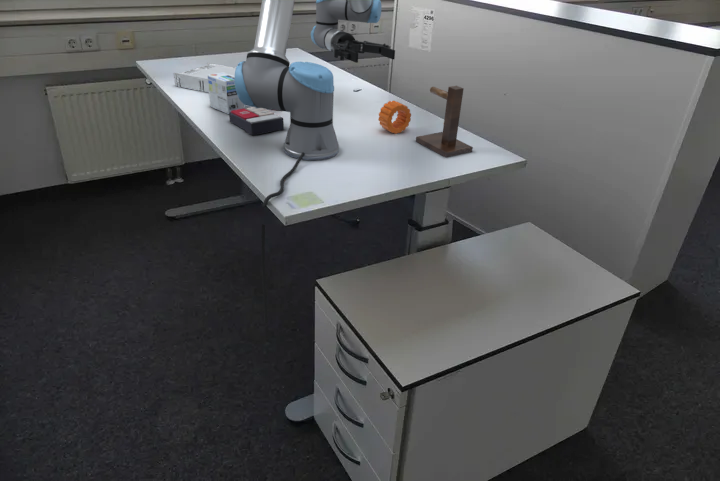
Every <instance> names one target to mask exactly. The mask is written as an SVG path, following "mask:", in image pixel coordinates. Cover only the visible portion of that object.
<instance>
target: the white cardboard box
mask: <svg viewBox="0 0 720 481" xmlns="http://www.w3.org/2000/svg"><path fill="white" fill-rule="evenodd" d="M235 70H236V67H235V66H228V65H223V64H217V63H212V62H207V63H206V65H202V66H199V67H196V68H192V69H189V70H185V71H182V72H173V79H174V86H175V87H179V88H185V89H190V90H194V91H198V92H203V93H207V94H209V86H208V76H207V75H209V74H215V73H221V72H225V73H227V74H230V75H233V76H235Z"/></svg>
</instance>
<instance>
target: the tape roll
mask: <svg viewBox="0 0 720 481" xmlns="http://www.w3.org/2000/svg"><path fill="white" fill-rule="evenodd" d="M408 107H409V106H407V105H406V104H403V103H402V102H399V101H396V100H392V101H391V100H388V101H387V102H386V103H384V104H383V106H382V107H381V108H380V110H379V113H378V121H379V126H381V127H382V129H384V130H386V131H388V132H390V133H392V134H394V135H397V134H402V132H405V131H406V129H407V128H408V127H409V125H410V122H411V120H412V118H411V117H412V113H411V109H410V108H408ZM396 113H397V115H396V118H395V120H394V121H392V120H393V117H394V116H395V114H396Z"/></svg>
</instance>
